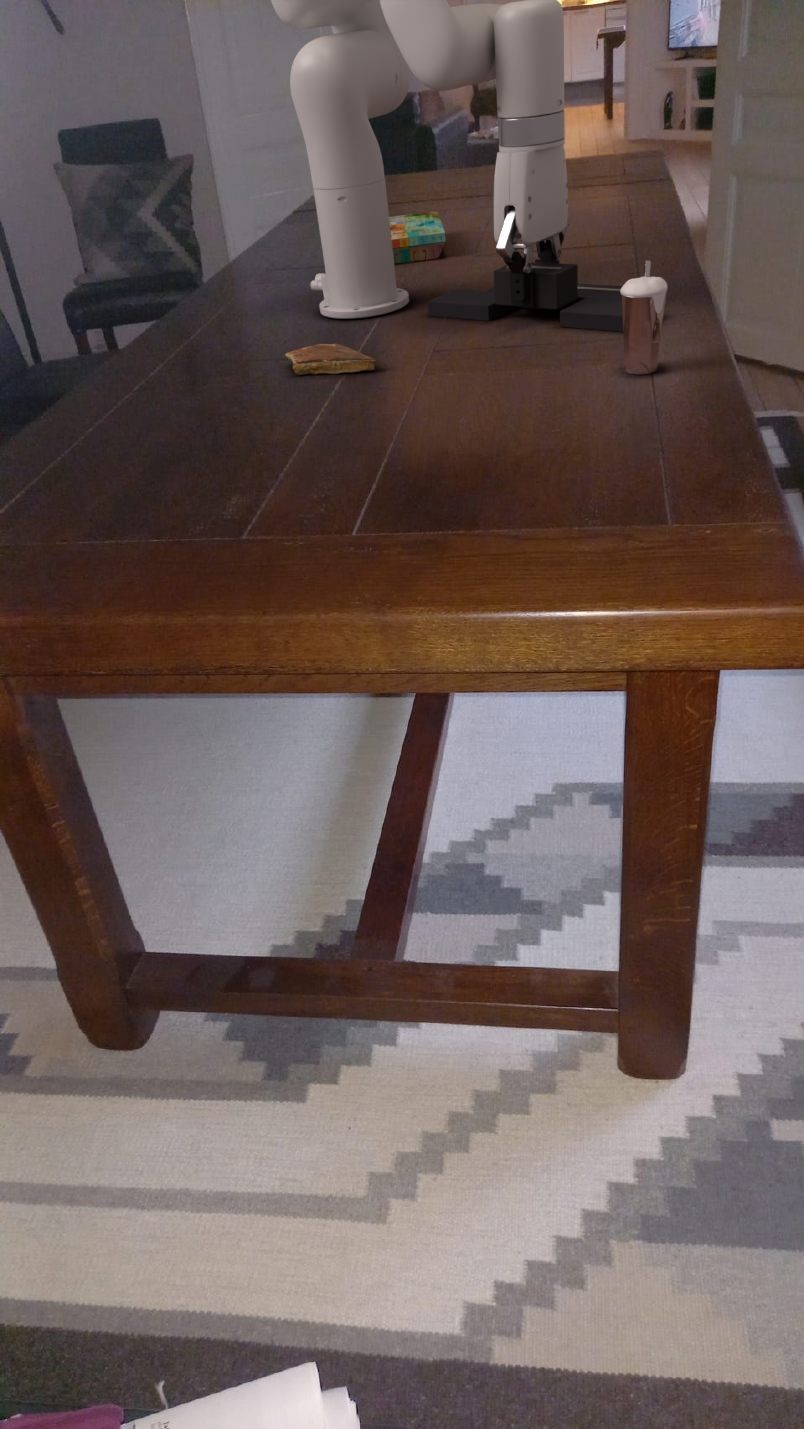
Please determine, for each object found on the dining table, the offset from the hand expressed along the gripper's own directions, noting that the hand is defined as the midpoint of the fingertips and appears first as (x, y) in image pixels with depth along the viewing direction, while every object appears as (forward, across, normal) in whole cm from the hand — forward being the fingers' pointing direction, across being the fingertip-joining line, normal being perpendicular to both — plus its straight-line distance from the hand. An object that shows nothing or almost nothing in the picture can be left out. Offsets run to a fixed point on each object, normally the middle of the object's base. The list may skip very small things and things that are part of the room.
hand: (535, 298), depth 123 cm
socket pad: (+2, -3, 0) cm, 4 cm away
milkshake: (+2, +15, +22) cm, 27 cm away
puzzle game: (+3, -30, -44) cm, 53 cm away
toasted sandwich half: (+3, +24, -13) cm, 27 cm away
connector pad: (0, 0, 0) cm, 0 cm away
